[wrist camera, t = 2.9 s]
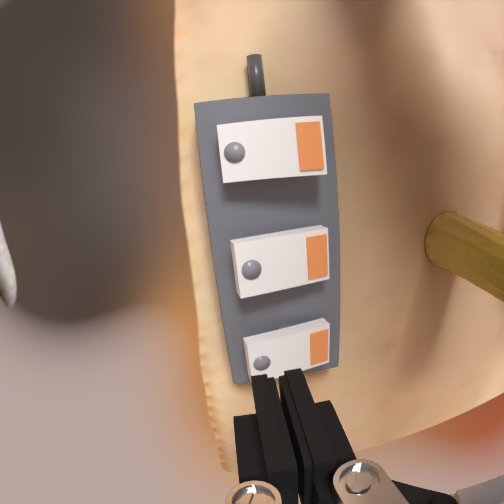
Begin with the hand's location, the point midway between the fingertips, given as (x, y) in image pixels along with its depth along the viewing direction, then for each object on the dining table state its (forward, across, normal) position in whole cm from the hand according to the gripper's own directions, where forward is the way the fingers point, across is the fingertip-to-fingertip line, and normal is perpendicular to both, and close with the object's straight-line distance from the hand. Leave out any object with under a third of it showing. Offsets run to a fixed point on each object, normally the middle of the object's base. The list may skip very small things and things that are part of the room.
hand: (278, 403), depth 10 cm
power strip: (+19, -3, -2) cm, 19 cm away
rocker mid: (+14, -3, 0) cm, 14 cm away
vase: (+19, -22, +2) cm, 29 cm away
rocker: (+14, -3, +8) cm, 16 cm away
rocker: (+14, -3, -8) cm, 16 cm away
